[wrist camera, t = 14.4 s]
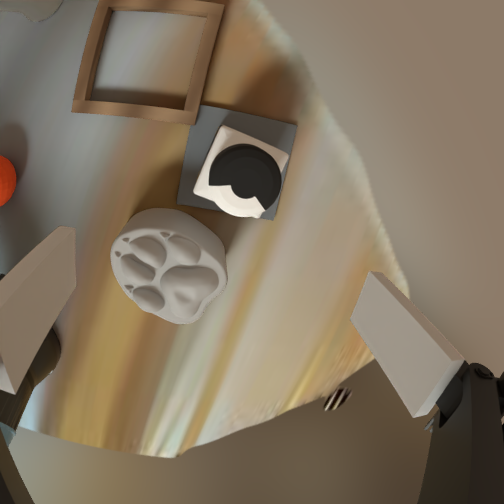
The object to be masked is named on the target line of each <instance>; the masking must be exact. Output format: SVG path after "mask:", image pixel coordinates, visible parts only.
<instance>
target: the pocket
mask: <svg viewBox="0 0 504 504" xmlns="http://www.w3.org/2000/svg"><path fill="white" fill-rule="evenodd" d="M224 8H225V5H224V4H218V3H211V2H204V1H197V0H99V2H98V5H97V8H96V11H95V15H94V18H93V21H92V24H91V27H90V31H89V34H88V38H87V42H86V45H85V49H84V53H83V57H82V61H81V65H80V70H79V74H78V79H77V84H76V89H75V94H74V99H73V105H72V111H71V112H74V113H90V114H104V115H115V116H125V117H134V118H143V119H151V120H159V121H166V122H173V123H180V124H187V125H193V126H195V123H196V119H197V114H198V109H199V105H200V102H201V97H202V93H203V88H204V84H205V80H206V76H207V72H208V68H209V64H210V60H211V56H212V52H213V48H214V44H215V41H216V37H217V33H218V30H219V26H220V23H221V19H222V16H223V12H224ZM112 11H146V12H162V13H173V14H183V15H191V16H199V17H206V18H207V20H206V23H205V27H204V30H203V34H202V38H201V41H200V45H199V49H198V53H197V56H196V60H195V64H194V68H193V72H192V77H191V81H190V85H189V89H188V94H187V98H186V103H185V107H184V111H183V110H176V109H169V108H162V107H154V106H145V105H136V104H126V103H115V102H102V101H90V98H91V92H92V87H93V83H94V78H95V73H96V69H97V65H98V60H99V56H100V52H101V49H102V45H103V41H104V37H105V34H106V30H107V27H108V24H109V20H110V17H111V14H112Z"/></svg>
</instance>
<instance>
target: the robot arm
mask: <svg viewBox="0 0 504 504" xmlns="http://www.w3.org/2000/svg"><path fill="white" fill-rule="evenodd" d="M75 288H76V264H75V228H71V227H65V226H59V227H58V228H56V229H55V230H54V231H53V232H52V233H51V234H49V235H48V236H47V237H46V238H45V239H44V240H43V241H42V242H40V243H39V244H38V245H37V246H36V247H35V248H34V249H33V250H32V251H31V252H29V253H28V254H27V255H26V256H25V257H24V258H23V259H22V260H21V261H20V262H19V263H18V264H17V265H16V266H15V267H14V268H13V269H12V270H11V271H10V272H9V273H8V274H7V275H4V274H1V275H0V504H35V503H34V502H33V500H32V498H31V496H30V494H29V492H28V490H27V488H26V486H25V484H24V482H23V480H22V478H21V476H20V475H19V472H18V470H17V467H16V465H15V463H14V461H13V458H12V456H11V454H10V451H9V449H8V447H9V444H10V443H11V441H12V439H13V437H14V436H15V434H16V429H17V427H18V424H19V422H20V419H21V417H22V414H23V412H24V410H25V407H26V405H27V403H28V400H29V398H30V396H31V394H32V392H33V389H34V387H35V386H36V385H38V384H39V383H40V382H41V381H42V380H43V379H44V378H45V377H46V376H47V375H49V374H50V373H52V372H53V370H54V369H55V367H56V365H57V363H58V361H59V359H60V345H59V341H58V339H57V336H56V334H55V333H54V331H53V329H52V328H51V327H52V325H53V323H54V322H55V320H56V318H57V317H58V315H59V313H60V312H61V310H62V308H63V307H64V305H65V304H66V302H67V300H68V299H69V297H70V296H71V294H72V293H73V291H74V289H75ZM350 321H351V322H352V324H353V325H354V326H355V328H356V329H357V331H358V332H359V334H360V335H361V337H362V339H363V340H364V342H365V343H366V345H367V346H368V348H369V349H370V351H371V352H372V354H373V355H374V357H375V358H376V360H377V361H378V363H379V364H380V366H381V367H382V369H383V371H384V372H385V374H386V375H387V377H388V378H389V380H390V382H391V383H392V385H393V386H394V388H395V389H396V391H397V393H398V394H399V396H400V397H401V399H402V401H403V402H404V404H405V405H406V407H407V408H408V410H409V412H410V413H411V415H412V417H413V418H414V417H418V416H423V415H427V414H428V412H429V411H430V410H431V409H432V407H433V406H434V404H435V403H436V404H437V406H438V407H439V410H438V411H437V412H436V414H435V415H434V416H433V418H432V419H431V420H430V421H429V422H428V424H427V425H426V426H425V428H424V430H427V429H428V428H429V426H431V425H433V428H432V429H431V430H430V432H432V436H431V443H430V449H429V454H428V460H427V464H426V469H425V474H424V479H423V483H422V488H421V492H420V495H419V499H418V503H417V504H504V424H503V425H502V422H501V418H502V417H503V416H504V372H503V373H502V375H501V377H500V378H495V377H494V375H493V373H492V372H491V371H490V370H489V369H488V368H486V367H485V366H483V365H481V364H479V363H471V364H470V365H469V364H468V363H467V362H466V361H465V359H464V358H463V356H462V355H461V354H460V353H459V352H458V351H457V350H456V349H455V348H454V347H453V345H452V344H451V343H450V342H449V341H448V340H447V339H446V338H445V337H444V336H443V335H442V334H441V332H440V331H439V330H438V329H437V328H436V327H435V326H434V325H433V324H432V323H431V322H430V321H429V320H428V319H427V318H426V317H425V316H424V315H423V313H422V312H421V311H420V310H419V309H417V307H416V306H414V304H413V303H412V302H411V301H410V300H409V299H408V298H407V297H406V296H405V295H404V294H403V293H402V292H401V291H400V290H399V289H398V288H397V287H396V286H395V285H394V284H393V283H392V282H391V281H390V280H389V279H388V278H387V277H386V276H385V275H384V274H383V273H380V272H373V271H369V273H368V275H367V278H366V281H365V283H364V286H363V288H362V291H361V293H360V296H359V299H358V301H357V304H356V306H355V308H354V311H353V313H352V316H351V318H350Z"/></svg>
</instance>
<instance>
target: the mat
mask: <svg viewBox="0 0 504 504" xmlns="http://www.w3.org/2000/svg"><path fill="white" fill-rule="evenodd" d="M220 125H225V126H227V127H230V128H232V129H234V130H237V131H239V132H241V133H244V134H246V135H248V136H251V137H253V138H255V139H258V140H260V141H262V142H264V143H266V144H269V145H271V146H273V147H275V148H277V149H279V150H281V151H283V152H286V153H287V154H288V155H289V157H290V153H291V149H292V145H293V141H294V137H295V133H296V129H297V125H293V124H289V123H285V122H281V121H277V120H273V119H269V118H265V117H260V116H256V115H251V114H247V113H242V112H237V111H232V110H227V109H222V108H216V107H211V106H205V105H199V109H198V114H197V119H196V123H195V126H193V125H191V126H190V131H189V136H188V141H187V146H186V151H185V156H184V162H183V167H182V173H181V179H180V184H179V190H178V197H177V203H176V204H181V205H187V206H193V207H199V208H205V209H211V210H217V211H223V210H222V209H221V208H220V207H219V206H218V205H217V204H216V203H215V202H214V201H212V200H209V199H206V198H204V197H201V196H199V195H196V194H195V193H194V192H193V190H194V186H195V182H196V178H197V176H198V173H199V171H200V169H201V166H202V164H203V161H204V159H205V157H206V154H207V152H208V150H209V148H210V145H211V143H212V141H213V139H214V136H215V134H216V132H217V130H218V127H219V126H220ZM289 157H288V160H287V162H286V164H285V166H284V168H283V170H282V172H281V177H282V184H281V189H282V185H283V181H284V177H285V173H286V169H287V165H288V161H289ZM280 193H281V190H280ZM280 193H279V195H278V197H277V199H276V201H275V202H274V203H273V204H272V205H271V206H270V207H269V208H268V209H267V210H266V211H264V212H262V214H261V216H260V218H262V219H268V220H273V221H274V217H275V213H276V209H277V205H278V201H279V197H280ZM223 212H225V211H223ZM251 217H252V216H251Z"/></svg>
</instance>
